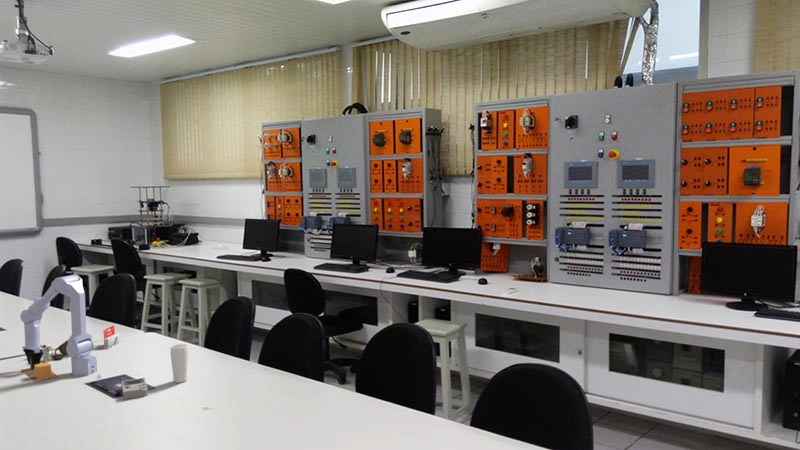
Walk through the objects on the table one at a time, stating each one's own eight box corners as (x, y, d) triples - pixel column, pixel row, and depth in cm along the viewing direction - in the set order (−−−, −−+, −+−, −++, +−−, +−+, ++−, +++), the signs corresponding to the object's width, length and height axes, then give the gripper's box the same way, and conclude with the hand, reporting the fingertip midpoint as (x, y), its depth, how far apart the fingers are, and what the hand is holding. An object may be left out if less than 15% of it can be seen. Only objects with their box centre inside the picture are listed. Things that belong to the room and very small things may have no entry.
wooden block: (59, 379, 249) (58, 363, 249) (35, 384, 243) (34, 368, 242) (43, 367, 266) (43, 352, 266) (20, 371, 260) (20, 356, 259)
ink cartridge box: (119, 343, 308) (118, 324, 307) (108, 349, 297) (107, 330, 296) (114, 343, 308) (113, 324, 307) (103, 349, 297) (102, 330, 296)
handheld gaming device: (123, 401, 225) (123, 391, 224) (121, 389, 237) (121, 380, 237) (148, 397, 229) (147, 387, 229) (144, 386, 242) (144, 377, 241)
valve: (57, 360, 278) (47, 355, 286) (56, 346, 278) (47, 342, 285) (42, 363, 273) (32, 359, 281) (41, 349, 272) (32, 345, 280)
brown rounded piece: (84, 343, 288) (71, 336, 292) (59, 347, 276) (46, 340, 280) (81, 357, 288) (68, 350, 292) (56, 362, 277) (43, 355, 281)
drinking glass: (191, 380, 246) (190, 345, 245) (176, 385, 241) (175, 349, 240) (184, 377, 251) (182, 343, 250) (168, 381, 246) (167, 346, 245)
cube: (51, 376, 250) (50, 364, 250) (38, 378, 247) (37, 367, 247) (48, 373, 254) (47, 362, 254) (34, 376, 250) (34, 364, 250)
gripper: (17, 334, 262) (19, 364, 263) (26, 340, 252) (27, 371, 253) (35, 331, 267) (37, 360, 268) (44, 337, 257) (46, 367, 258)
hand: (33, 365), depth 260 cm, fingers open, 7 cm apart
